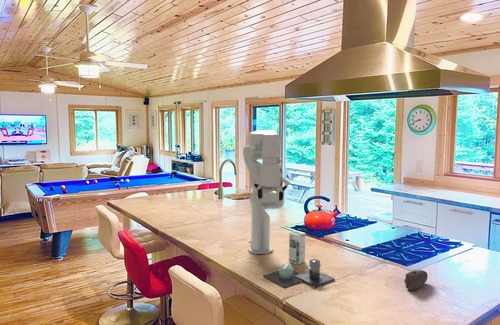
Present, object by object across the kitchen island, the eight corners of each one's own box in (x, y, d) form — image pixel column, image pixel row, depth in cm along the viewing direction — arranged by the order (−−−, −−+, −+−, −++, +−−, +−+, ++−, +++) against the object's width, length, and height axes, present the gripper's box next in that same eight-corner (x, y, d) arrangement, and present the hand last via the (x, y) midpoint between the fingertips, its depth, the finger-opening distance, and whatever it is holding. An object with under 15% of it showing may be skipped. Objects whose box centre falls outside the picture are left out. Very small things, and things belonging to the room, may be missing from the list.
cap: (281, 273, 163) (281, 262, 163) (294, 275, 161) (294, 264, 161) (277, 278, 158) (277, 267, 158) (290, 280, 156) (290, 269, 155)
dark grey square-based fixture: (294, 277, 160) (294, 259, 159) (313, 271, 167) (314, 254, 166) (315, 287, 150) (315, 268, 149) (334, 280, 157) (335, 262, 157)
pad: (263, 276, 161) (263, 275, 161) (287, 269, 169) (287, 268, 169) (284, 288, 150) (284, 286, 150) (309, 279, 158) (309, 278, 158)
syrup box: (288, 261, 178) (288, 232, 177) (295, 258, 183) (296, 230, 181) (297, 265, 174) (298, 235, 173) (305, 261, 179) (305, 232, 177)
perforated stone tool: (420, 280, 158) (421, 264, 157) (432, 284, 154) (433, 268, 153) (400, 289, 149) (400, 272, 148) (412, 294, 145) (413, 277, 144)
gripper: (292, 161, 165) (291, 199, 167) (256, 159, 172) (255, 196, 173) (287, 162, 158) (286, 202, 160) (249, 161, 165) (249, 199, 166)
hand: (270, 199), depth 166 cm, fingers open, 9 cm apart
